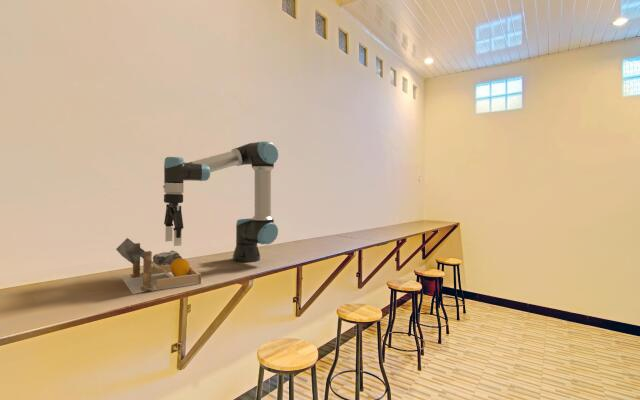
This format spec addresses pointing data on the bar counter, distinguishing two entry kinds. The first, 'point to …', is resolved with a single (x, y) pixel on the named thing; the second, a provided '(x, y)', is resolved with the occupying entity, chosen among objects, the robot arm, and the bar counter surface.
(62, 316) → the bar counter surface
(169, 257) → the rock
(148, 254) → the gallows posts
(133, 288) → the tray
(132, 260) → the trapdoor
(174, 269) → the orange
